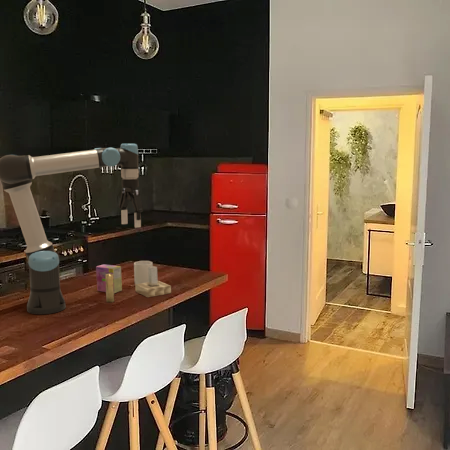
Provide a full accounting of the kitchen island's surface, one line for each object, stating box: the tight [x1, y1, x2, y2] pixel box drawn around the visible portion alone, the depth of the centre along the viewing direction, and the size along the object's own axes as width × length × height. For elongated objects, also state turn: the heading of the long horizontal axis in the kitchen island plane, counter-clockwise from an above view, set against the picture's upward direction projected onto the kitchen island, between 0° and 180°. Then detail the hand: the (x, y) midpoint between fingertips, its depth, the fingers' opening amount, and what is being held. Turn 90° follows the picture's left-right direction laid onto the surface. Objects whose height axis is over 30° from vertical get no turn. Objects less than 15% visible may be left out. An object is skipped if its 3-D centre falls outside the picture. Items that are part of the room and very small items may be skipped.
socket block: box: [134, 280, 172, 298], centre depth 245 cm, size 12×12×4 cm
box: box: [95, 264, 123, 294], centre depth 248 cm, size 10×6×12 cm, turn 62°
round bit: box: [105, 274, 115, 303], centre depth 230 cm, size 3×3×12 cm
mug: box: [133, 260, 154, 285], centre depth 260 cm, size 12×9×11 cm
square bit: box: [148, 265, 159, 287], centre depth 244 cm, size 3×3×12 cm
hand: (131, 225), depth 240 cm, fingers open, 13 cm apart
